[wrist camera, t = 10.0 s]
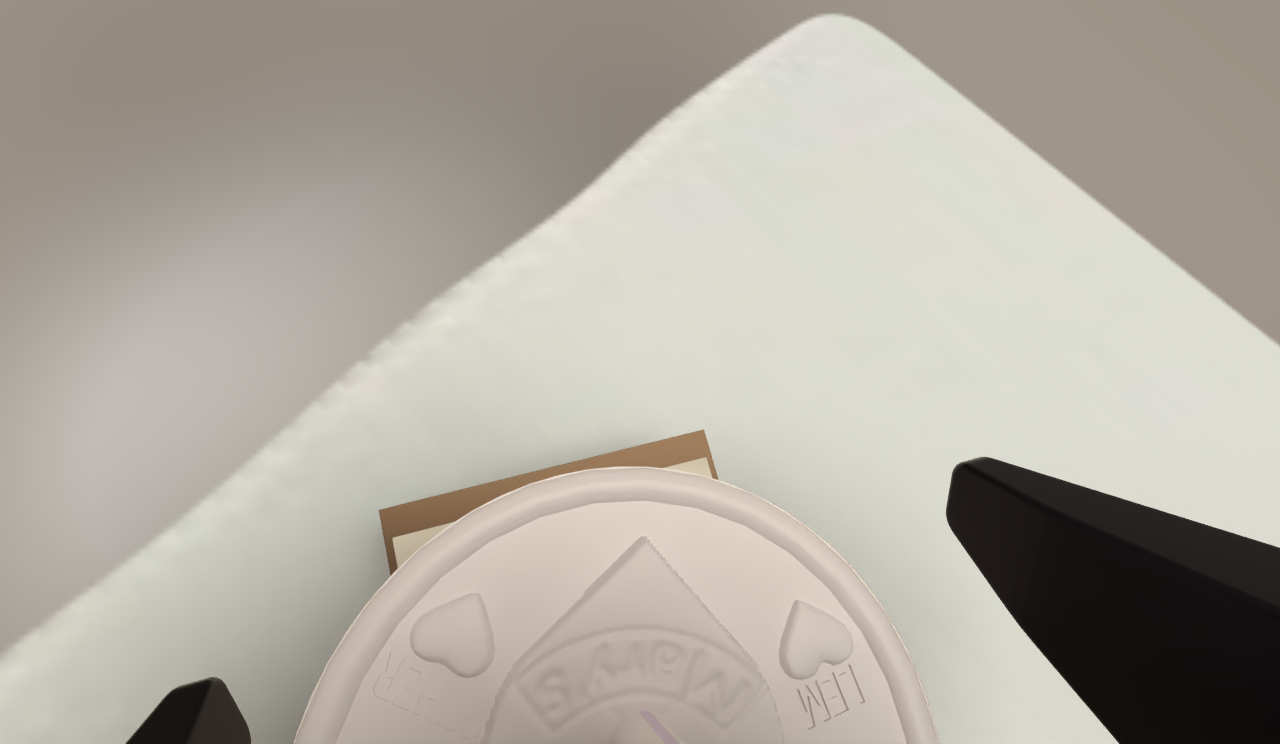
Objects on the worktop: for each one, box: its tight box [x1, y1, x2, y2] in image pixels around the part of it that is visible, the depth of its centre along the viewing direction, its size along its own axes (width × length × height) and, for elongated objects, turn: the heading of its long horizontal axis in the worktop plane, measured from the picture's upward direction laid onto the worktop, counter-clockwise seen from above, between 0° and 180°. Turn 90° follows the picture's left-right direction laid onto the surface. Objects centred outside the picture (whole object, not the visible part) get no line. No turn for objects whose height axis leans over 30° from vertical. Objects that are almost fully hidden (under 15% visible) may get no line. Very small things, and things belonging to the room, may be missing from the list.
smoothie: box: [293, 467, 939, 744], centre depth 9 cm, size 6×6×14 cm
